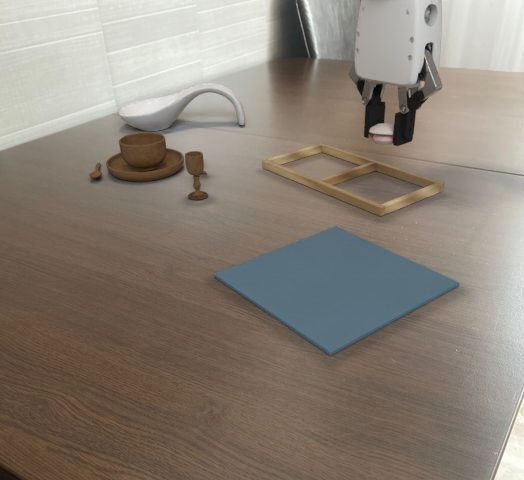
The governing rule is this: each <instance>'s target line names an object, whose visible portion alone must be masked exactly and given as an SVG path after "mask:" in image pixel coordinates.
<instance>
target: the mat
mask: <svg viewBox="0 0 524 480" xmlns="http://www.w3.org/2000/svg"><path fill="white" fill-rule="evenodd" d="M213 278H215V279H216V280H218V281H219V282H221V283H222V284H224V285H225V286H226V287H228V288H229V289H230V290H232V291H233V292H235V293H237V294H239V295H240V296H241V297H243V298H244V299H245V300H247V301H248V302H250V303H251V304H253V305H254V306H256V307H257V308H259V309H260V310H262V311H264V312H265V313H266V314H268V315H269V316H271V317H272V318H274V319H275V320H277V321H278V322H279V323H281V324H283V325H284V326H285V327H287V328H288V329H290V330H291V331H292V332H295V334H297V335H298V336H300V337H302V338H303V339H305V340H306V341H308V342H309V343H311V344H312V345H313V346H315V347H316V348H318V349H319V350H321V351H322V352H323V353H325V354H327V355H328V356H330V357H332V356H333V355H335V354H336V353H339V352H340V351H342V350H344V349H346V348H348V347H350V346H352V345H353V344H355V343H357V342H359V341H361V340H362V339H364V338H366V337H368V336H370V335H372V334H374V333H375V332H377V331H379V330H381V329H383V328H384V327H386V326H388V325H390V324H392V323H394V322H396V321H397V320H399V319H401V318H403V317H405V316H407V315H408V314H410V313H412V312H414V311H415V310H417V309H419V308H422V307H423V306H425V305H427V304H428V303H431V302H433V301H434V300H436V299H437V298H439V297H441V296H443V295H445V294H447V293H449V292H450V291H452V290H454V289H457V288H458V287H459V286H460V282H459V281H457V280H455V279H453V278H450V277H449V276H447V275H444V274H442V273H439V272H438V271H435V270H433V269H431V268H429V267H426V266H424V265H422V264H420V263H418V262H416V261H413V260H412V259H409V258H407V257H405V256H402V255H400V254H398V253H396V252H394V251H391V250H389V249H387V248H386V247H383V246H380V245H379V244H376V243H374V242H372V241H369V240H368V239H365V238H363V237H361V236H359V235H357V234H355V233H352V232H350V231H347V230H346V229H343V228H341V227H339V226H337V225H334V226H332V227H330V228H327V229H324V230H322V231H319V232H317V233H314V234H312V235H309V236H306V237H305V238H302V239H299V240H296V241H294V242H291V243H289V244H286V245H283V246H281V247H279V248H276V249H273V250H272V251H271V250H270V251H268V252H266V253H264V254H261V255H259V256H256V257H253V258H251V259H248V260H246V261H244V262H241V263H238V264H236V265H233V266H231V267H228V268H226V269H223V270H220V271H217V272H215V273H214V274H213Z"/></svg>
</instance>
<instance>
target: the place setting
mask: <svg viewBox="0 0 524 480" xmlns="http://www.w3.org/2000/svg"><path fill="white" fill-rule="evenodd" d="M118 145H119V151H120V152H118V153H116V154H114V155H112V156H110V157H109V158H108V159H107V160H106V161H105V167H106V169H107V171H108V172H109V174H111V175H112V176H113V177H115V178H118V179H120V180H123V181H126V182H134V183H135V182H137V183H138V182H141V183H142V182H152V181H157V180H162V179H165V178H168V177H170V176H171V177H172V175H175V174H176V173H177V172H178V171H180V170H181V169H182V167H183V166H184V164H185V168H186V171H187V173H188V174H189V175H191V176H192V179H193V183H192V187H193V188H194V191H192V192H190V193H188V195H187V198H188V199H189V200H191V201H202V200H205V199H207V198H208V197H209V193H208V192H206V191H202V190H201V187H202V184H201V182H200V175H202V174H203V175H205V174H206V175H207V174H208V173H207V172H206V170H204V169H205V164H204V163H205V162H204V161H205V160H204V153H203V152H202V151H199V150H195V151H194V150H191V151H187V152H186V153H184V154H183V153H182V151H180V150H176V149H173V148H169V147H167V141H166V136H165V135H163V134H162V133H159V132H154V131H143V132H135V133H130V134H127V135H124V136H123V137H121V138H119V140H118ZM184 162H185V163H184ZM100 166H101V162H97V163H96V165H95V168H94V171H92V172H90V173H89V174H88V176H89V178H91V179H93V180H94V179H99V178H100V177H101V176H102V175H103V173H102V172H101V171H100V170H99V169H100V168H101V167H100Z"/></svg>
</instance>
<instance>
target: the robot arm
mask: <svg viewBox="0 0 524 480" xmlns="http://www.w3.org/2000/svg"><path fill="white" fill-rule="evenodd" d="M442 3H443V2H442V0H360V5H359V8H358V9H359V10H358V15H357V23H356V30H355V31H356V33H355V41H354V42H355V45H354V61H353V62H352V64H351V66H350V68H349V70H348V73H347V74H348V77H349V79H351V81H352V82H353V84H354V85H355V86H356V89H357V91H358V92H359V94H360V96H361V100H360V101H361V104H362V105H363V106H365V107H364V122H363V123H364V124H363V137H364V138H365V139H369V136H368V135H369V133H370V132H369V130H370V128H371V127H373V126H375V125H377V124H383V123H385V120H386V119H385V117H386V101H383V98H384V92H385V89H386V85H389V86H390V85H391V86H395V87H397V96H398V97H397V98H398V109H399V111H398V112H395V114H394V119H393V120H394V123H393V124H394V132H393V144H392V145H393V146H395V147H400V146H402V145H405V144H409V143H411V142H412V141H413V139H414V134H415V124H416V115H417V111H418V110H420V109H421V108H422V105H424V103H425V102H427V100H429V98H431V97H433V96H434V95H435V94H437V93H439V92H440V91H441V90H442V89H443V83H442V82H443V81H442V79H441V77H440V74H439V70H440V62H441V60H440V59H441V51H442V50H441V49H442V38H443V37H442V36H443V35H442V34H443V4H442ZM421 82H424V84H423V86H422V85H421ZM421 86H422V87H421ZM409 91H410V92H409Z"/></svg>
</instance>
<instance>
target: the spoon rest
mask: <svg viewBox="0 0 524 480" xmlns="http://www.w3.org/2000/svg"><path fill="white" fill-rule="evenodd" d="M207 93H211V94H212V93H213V94H217V95H220V96H222V97H224V98H226V99H227V101H229V102H230V103H231V105H232V106H233V108H234V110H235V113H236V117H237V119H236V120H237V123H238V125H239V126H244V125H245V123H246V114H245V113H246V112H245V109H244V105H243V102H242V100H241V99H240V97H239V96H238V94H237V93H236V92H235V91H234V90H232V89H231V88H229V87H227V86H226V85H223V84H219V83H215V82H202V83H197V84H195V85H192V86H189V87H187V88H185V89H183V90H180V91H178V92H174V93H171V94H167V95H163V96H157V97H152V98H147V99H141V100H137V101H134V102H133V101H132V102H130V103H128V104H126V105H124V106H122V107H120V108H119V110H118V111H117V114H118V117H120V119H121V120H122V121H123V122H124V123H126V124H127V125H129V126H131V127H132V128H135V129H138V130H139V131H143V132H155V131H163V130H166V129H169V128H170V127H171V126H172V124H174V122H175V121H176V120H177V119H178V118H179V116H180V115H181V114H182V113H183V111H184V110H185V109H186V107H187V106H188V105H190V103H191V102H192V101H193V100H194V99H195V98H197V97H198V96H200V95H203V94H207Z"/></svg>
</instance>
